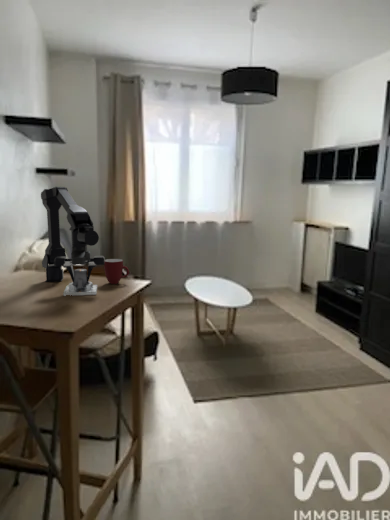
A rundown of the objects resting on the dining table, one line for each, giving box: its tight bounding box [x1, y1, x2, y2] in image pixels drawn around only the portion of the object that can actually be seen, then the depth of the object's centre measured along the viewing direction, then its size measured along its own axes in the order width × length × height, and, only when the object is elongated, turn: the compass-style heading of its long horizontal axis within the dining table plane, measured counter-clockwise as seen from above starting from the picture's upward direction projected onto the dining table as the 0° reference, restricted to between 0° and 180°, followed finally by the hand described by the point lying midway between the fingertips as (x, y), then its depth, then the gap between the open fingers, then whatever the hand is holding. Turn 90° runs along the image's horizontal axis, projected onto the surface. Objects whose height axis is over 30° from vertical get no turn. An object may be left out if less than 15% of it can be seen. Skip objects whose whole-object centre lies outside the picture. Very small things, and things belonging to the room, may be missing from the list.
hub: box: [63, 281, 98, 297], centre depth 159 cm, size 12×12×3 cm
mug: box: [103, 258, 130, 285], centre depth 174 cm, size 11×8×10 cm
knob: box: [73, 268, 88, 287], centre depth 158 cm, size 6×5×6 cm
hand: (80, 282), depth 159 cm, fingers closed on knob, 5 cm apart
